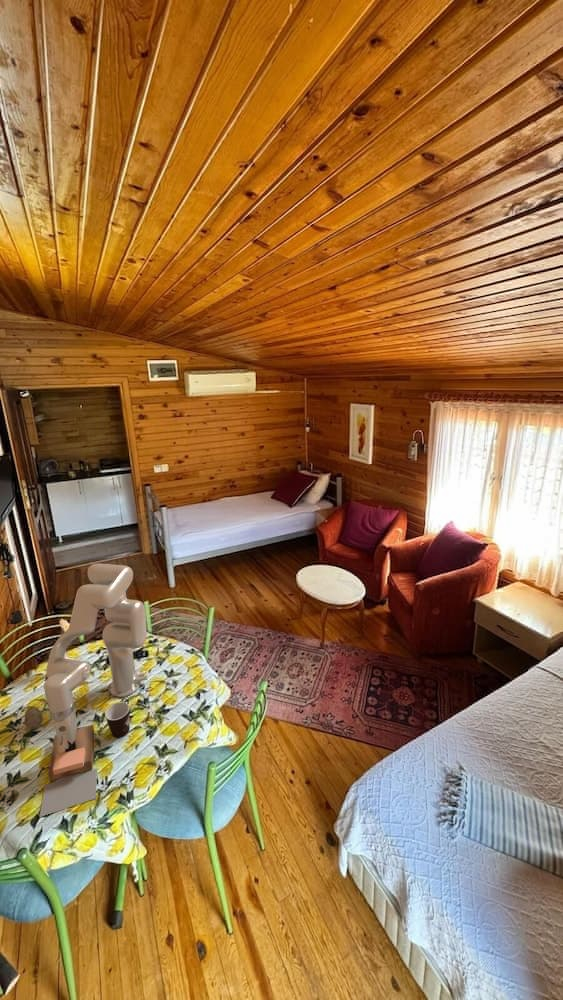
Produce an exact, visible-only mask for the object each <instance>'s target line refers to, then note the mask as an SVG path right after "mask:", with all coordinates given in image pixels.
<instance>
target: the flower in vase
mask: <svg viewBox="0 0 563 1000" xmlns="http://www.w3.org/2000/svg"><path fill="white" fill-rule="evenodd" d="M69 625H70V622H68V621H67V620H66V619H63V618H61V619H60V620H59V626H60V629H61V632H60V636H61V635H62V634H64V633H65V632H66V631H67V630H68V628H69ZM64 659H72V660H77V659H76V658H72V657H71V658H70V657H67V654H66V652H65V655H64Z"/></svg>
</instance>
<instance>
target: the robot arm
mask: <svg viewBox="0 0 563 1000" xmlns="http://www.w3.org/2000/svg"><path fill="white" fill-rule="evenodd" d="M87 577H88V579H89V581H90V582H92V583H89V584H87V583H86V584H83V585H81V586H80V587H79V588H78V589H77V591H76V595H75V598H74V602H73V607H72V612H71V617H70V620H69V624H70V625H69V628H68V630H67V631H66V632H63V633H64V634H62V635H61V634H60V636H59V637H58V639H57V640H56V642H55V643H54V644H53V646H52V648H51V649H50V652H49V655H48V659H47V665H46V676H47V679H45V682H44V683H43V690H44V695H45V699H46V704H47V708H48V712H49V716H50V719H51V720H52V721H54V728H55V732H56V734H55V735H57V739H58V743H59V745H60V746H61V745H62V741H63V744H64V749H65V752H69V751H72V750H76V743H75V739H76V731H77V729H78V719H77V718H78V717H77V714H76V711H75V710H76V705H75V701H74V695H73V690H75V689H76V688H78V687H79V686H81V685H82V684H83V683H84V682H85V681H86V680H88V678H89V677H90V676H91V672H92V665H91V664H90V662H88V661H85V660H78V659H76V660H72V659H64V655H65V652H66V650H67V649H68V647H69V645H70V644H71V643H72V642H73V641H75V640H76V639H78V638H80V637H81V636H84V635H89V634H91V633H92V632H93V633H94V631H95V629H96V624H97V620H98V614H99V610H104V616H105V619H106V620H107V621H108V622H110V623H108V624H107V625H106V626H105V627H104V628H103V630H102V641H103V644H104V646H105V648H106V652H107V656H108V661H109V668H110V673H111V679H112V680H111V681H112V683H110V685H109V692H110V695H112V696H114V697H116V698H123V697H128V696H131V695H132V694H134V693H135V692H136V691H137V690H139V688H140V687H141V682H143V681H148V675H147V674H146V675H145V672H141V673H137V670H136V666H135V661H134V651H133V649H141V648H142V647H143V646H144V645H145V643H146V641H147V636H148V634H147V616H146V614H147V613H146V607H145V605H144V603H143V601H140V600H138V599H137V600H136V599H129V598H127V593H126V592H127V590H128V588H129V587H130V585H131V584H132V582H133V579H134V571H133V569H132V568H131V567H130V566H127V565H122V564H111V563H94V564H91V565H90V566H89V567H88V569H87Z"/></svg>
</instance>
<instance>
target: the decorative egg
mask: <svg viewBox="0 0 563 1000" xmlns="http://www.w3.org/2000/svg"><path fill="white" fill-rule="evenodd" d="M43 721H44V716H43V713H42V711H41V710H40V709H39V708H38V707H37V706H35V705H31V706H29V707H27V709H26V711H25V713H24V725H25V727H26V728H27V729H28V730H30V731H35V730H38V729H39V728H40V727H41V725H42V724H43Z"/></svg>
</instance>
